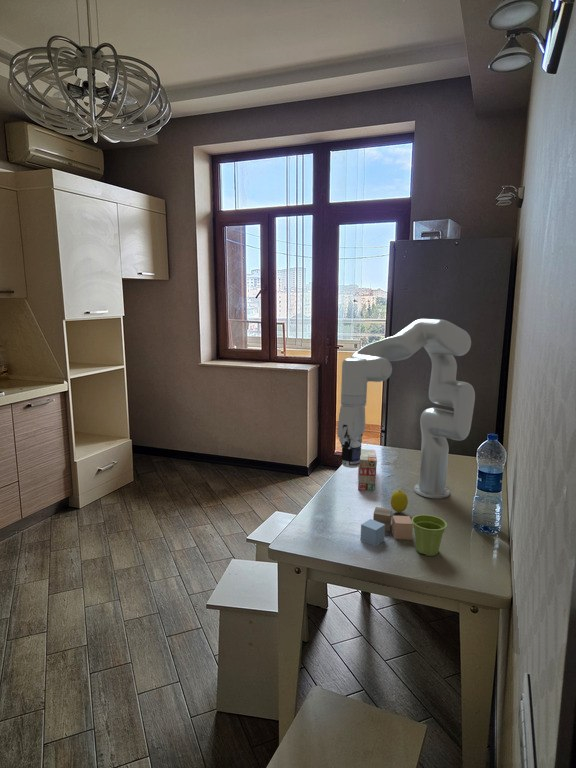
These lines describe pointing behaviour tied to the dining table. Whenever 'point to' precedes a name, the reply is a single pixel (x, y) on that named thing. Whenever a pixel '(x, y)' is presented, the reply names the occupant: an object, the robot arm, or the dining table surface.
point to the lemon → (399, 501)
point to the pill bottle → (353, 454)
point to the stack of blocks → (367, 470)
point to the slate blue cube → (372, 532)
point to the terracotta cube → (402, 527)
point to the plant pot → (428, 533)
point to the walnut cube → (383, 516)
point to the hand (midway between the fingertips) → (351, 457)
